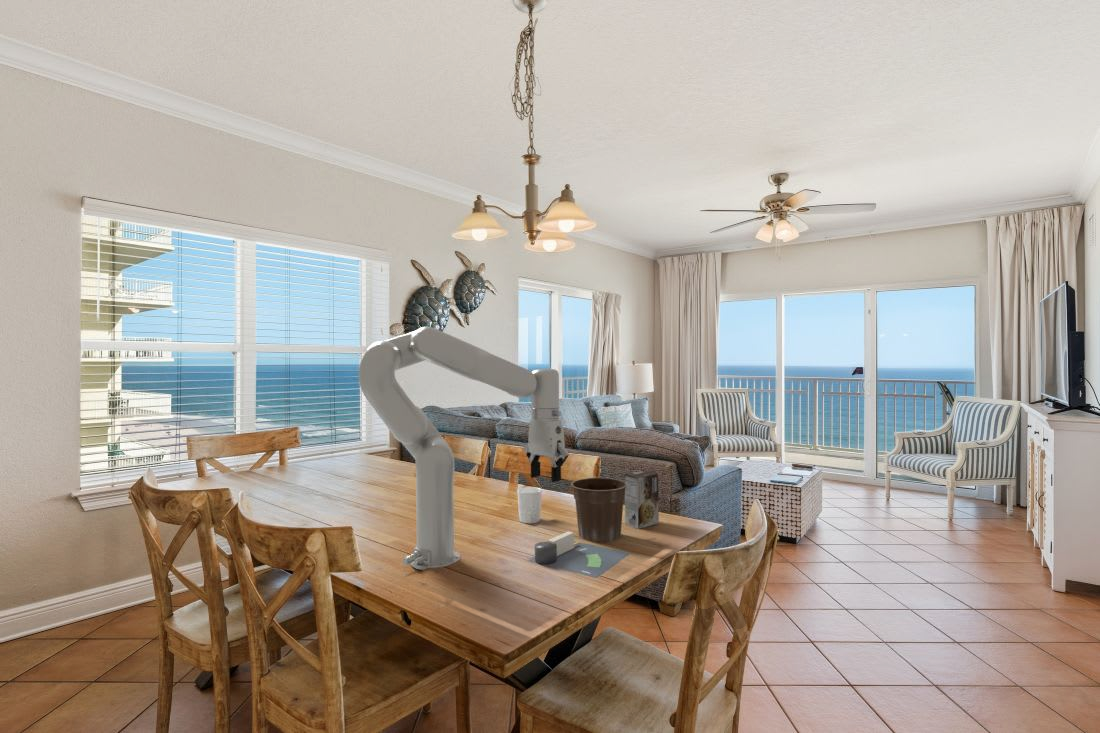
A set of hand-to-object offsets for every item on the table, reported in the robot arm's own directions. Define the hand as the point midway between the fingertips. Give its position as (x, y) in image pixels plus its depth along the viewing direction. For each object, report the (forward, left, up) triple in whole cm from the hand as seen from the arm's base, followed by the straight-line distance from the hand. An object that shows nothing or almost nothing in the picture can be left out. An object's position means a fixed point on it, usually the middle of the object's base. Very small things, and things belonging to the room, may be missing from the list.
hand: (545, 478), depth 149 cm
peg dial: (-3, -6, -18) cm, 20 cm away
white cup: (+20, +19, -20) cm, 34 cm away
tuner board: (-1, -12, -20) cm, 23 cm away
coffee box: (+36, -13, -20) cm, 43 cm away
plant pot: (+17, -8, -20) cm, 27 cm away
